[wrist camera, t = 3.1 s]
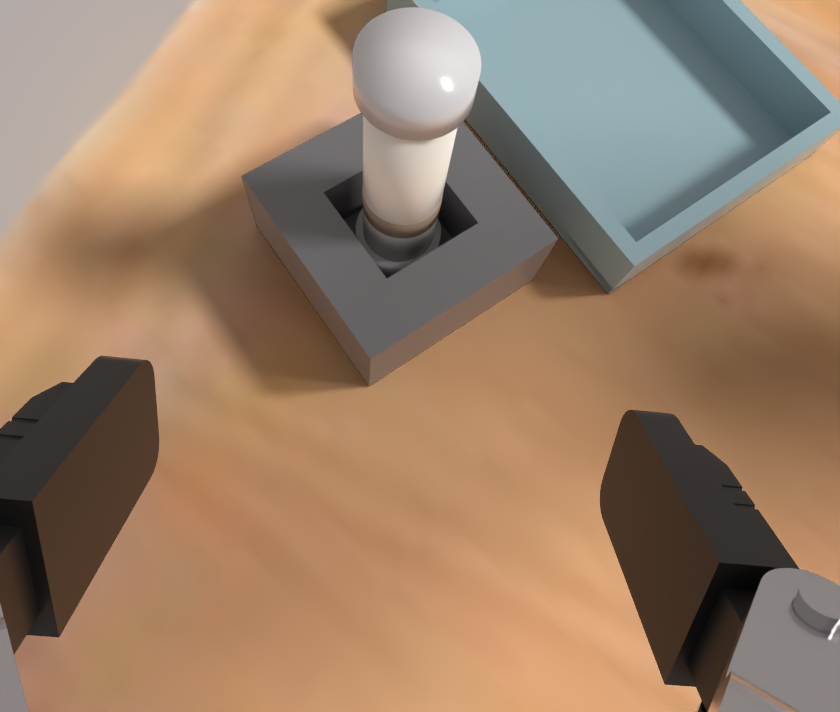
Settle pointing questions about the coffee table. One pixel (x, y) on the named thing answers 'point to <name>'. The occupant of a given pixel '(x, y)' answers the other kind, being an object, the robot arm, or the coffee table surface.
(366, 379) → the socket block
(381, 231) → the white light bulb
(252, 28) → the coffee table surface
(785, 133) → the parts tray
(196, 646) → the coffee table surface
